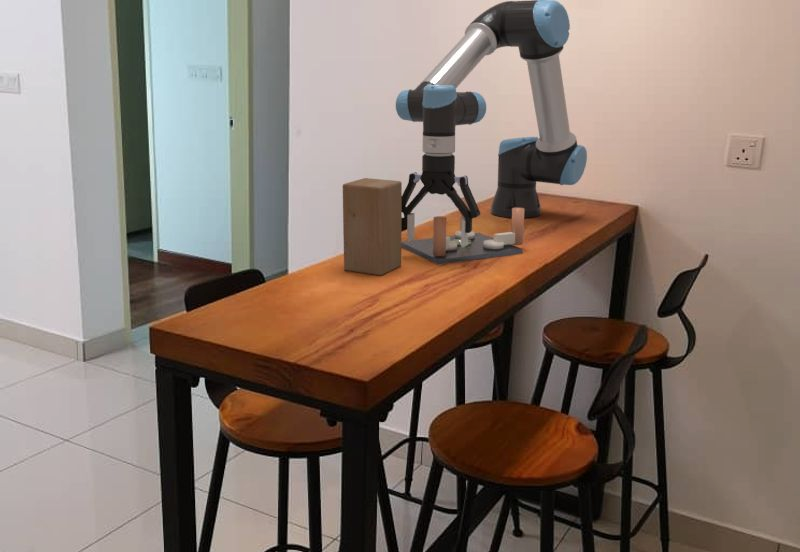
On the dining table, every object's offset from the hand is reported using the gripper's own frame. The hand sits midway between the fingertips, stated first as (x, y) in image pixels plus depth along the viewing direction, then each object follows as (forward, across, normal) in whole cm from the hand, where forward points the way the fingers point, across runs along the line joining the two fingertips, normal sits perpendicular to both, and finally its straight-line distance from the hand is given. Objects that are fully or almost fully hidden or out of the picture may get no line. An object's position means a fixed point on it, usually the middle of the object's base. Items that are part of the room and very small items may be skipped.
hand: (437, 243), depth 190 cm
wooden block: (+4, -11, -12) cm, 17 cm away
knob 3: (+3, +12, +15) cm, 19 cm away
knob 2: (+3, -1, +23) cm, 23 cm away
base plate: (+4, +2, +12) cm, 13 cm away
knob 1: (+3, 0, +4) cm, 5 cm away
